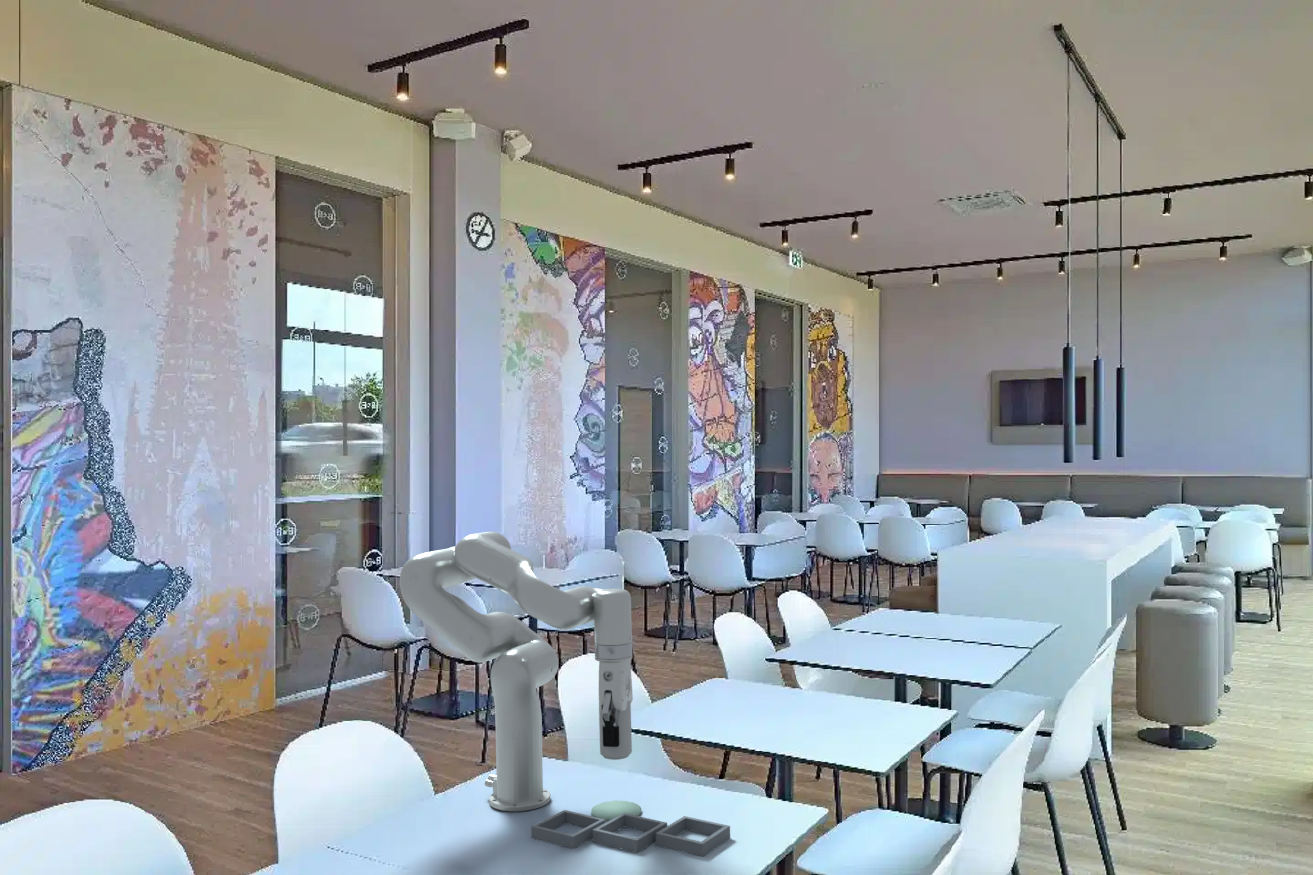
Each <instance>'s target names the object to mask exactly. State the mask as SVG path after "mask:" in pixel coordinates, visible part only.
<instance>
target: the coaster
mask: <svg viewBox="0 0 1313 875" xmlns="http://www.w3.org/2000/svg"><path fill="white" fill-rule="evenodd" d="M623 813H626V814H631V815H635V816H640V815H641V813H642V807H641V805H639V804H638V803H635V802H633V801H629V800H627V801H626V800H611V801H610V800H609V801H605V802H604V801H603V802H601V803H597V804H596V805H593V806H592V808H591V812H590V814H591V816H593V817H598V818H602V819H606V822H608V821H610V820H612V819H613V818H615V817H617V816H619V815H621V814H623Z"/></svg>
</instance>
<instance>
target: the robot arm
mask: <svg viewBox="0 0 1313 875" xmlns="http://www.w3.org/2000/svg"><path fill="white" fill-rule="evenodd" d="M474 579H478V580H479V581H482V582H484V583H485V584H488V585H489V586H491V587H494V588H495V589H497V590H499V591H501V592H503V593H505V594H506V595H508V596H510V597H511V598H512V600H513V601H514V603H515V604H516V605H517V606H518V607H519V608H521V610H523V611H524V612H525V613H526V614H527V615H528V616H531V617H532V618H534V619H536V620H538V621H540V622H542V623H544V624H545V625H548V626H549V627H552V628H555V629H558V630H564V631H565V630H567V631H568V630H572V629H575V628H578V627H579V626H582V625H586V624H588V623H593V629H594V630H593V632H594V660H595V661H597V662H599V664H598V709H599V708H600V710H601V711H602V715H603V717H602V718H603V724H602V725H603V746H604V747H618V746H619V726H617V722H618V710H620V712H623V711H624V710H625V709H626V708H627V702H628V700H630V702H631V703H632V702H633V700H634V699H633V697H634V695H633V683H632V682H633V681H632V668H631V660H632V659H633V636H632V635H633V633H632V631H633V630H632V625H633V623H632V597H631V594H630V592H629V591H628V590H626V589H623V588H604V589H603V588H599V587H598V588H597V587H592V586H585V585H581V586H577V587H574V588H573V587H572V588H570V589H566V590H561V589H559V588H557V587H555V586H553V585H550V584H548V583H547V582H545V581H543V580H542V579H540V578H539V577H538V576H536V574H535V573H534V563H533V561H532V559H530V558H529V557H527V556H524V555H523V554H521V553H518V552H516V551H514V550H513V549H512V546H511V543H510V542H509V540H508V539H507V537H506V536H504V535H503V534H501V533H499V532H496V531H483V532H476V533H471V534H468V535H465V536H464V537H462V538H461V539H460V540H459V541H458V542H457V543H456V545H454V546H451V547H447V548H442V549H436V550H431V551H426V552H422V553H419V554H416V555H415V556H414V555H413V556H411V557H410V558H409V559H408V560H407V561H406V562H405V563H404V564H403V566H402V568H401V570H400V574H399V588H400V593H401V595H402V598H403V601H404V603H405V604H406V606H407V607H408V608H409V610H410V611H411V612H412V613H413V614H414V615H415V616H416V617H418V619H420V620H421V621H422V622H423V623H426V624H427V626H429V627H431V629H432V630H434V631H435V632H436V633H437V634H439V635H440V636H441V637H442V638H443V639H444V640H446V641H447V642H448V643H449V644H450V645H452V646H453V647H454V648H455V649H457V650H458V651H459V652H460V653H461V654H463V655H464V656H465V657H466V658H468V660H471V661H472V662H474V663H486V662H488V661H492V660H494V659H495V661H494V663H492V666H491V670H490V685H491V690H492V696H493V702H494V718H495V720H494V721H495V723H494V725H495V757H496V758H495V761H496V762H495V764H496V767H495V768H496V770H495V771H496V774H493V773H490V774H489V775H488V777H487V779H486V780H485V781H484V786H485V787H488V788H492V792H493V793H492V794H491V795H490V796H489V798H488V799H489V800H488V801H489V806H490V807H492V808H494V809H495V810H499V811H504V812H525V811H531V810H532V811H533V810H536V809H539V808H541V807H544V806H546V805H547V804H548V803H550V802H551V792H550V791H549V790H548V789H546V788H544V785H543V784H544V780H543V779H544V778H543V777H544V776H543V773H544V772H543V770H544V769H543V765H544V764H543V728H542V727H543V726H542V725H543V723H542V721H543V720H542V708H541V704H540V701H539V700H540V699H539V697H538V692H537V689H538V688H539V687H542V686H544V685H545V684H547V683H548V682H550V681H551V680H552V679H554V677H555V676H556V675H557V673H558V669H559V658H558V656H557V653H556V650H555V649H554V648H553V647H552V646H551V644H550V643H549V642H548V641H547V640H545V639H543V638H542V637H541V636H540V635H539V634H538V633H536V631H533V630H532V629H531V628H530V627H528V625H526V624H525V623H523V622H522V620H520V619H519V618H517V617H516V616H514V615H512V614H510V613H507V612H504V611H494V612H493V611H492V612H489V613H486V614H483V613H480V612H478V611H477V610H476V609H474V608H473V607H472V606H471V605H469V604H468V603H467V602H466V601H465V600H463V599H462V598H460V597H458V596H457V595H454V594H453V593H450V592H449V591H447V590H446V588H451V587H455V586H459V585H461V584H464V583H466V582H469V581H471V580H474ZM603 703H604V704H603ZM602 705H603V707H602ZM611 706H614V707H615V710H610V708H611ZM610 714H614V719H613V716H612V715H610Z"/></svg>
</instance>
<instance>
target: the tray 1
mask: <svg viewBox="0 0 1313 875" xmlns="http://www.w3.org/2000/svg"><path fill="white" fill-rule="evenodd" d="M606 822H607V821H606V819H602V818H598V817H593V816H592V815H588V814H584V813H580V812H577V811H576V812H574V811H571V810H567V809H564V810H561V811H559V812H558V813H555V814H554V815H551V816H550V817H547V818H545V819H543V820H541V821H540V822H537V823H535V824H534V825H531V826H530V834H531V836H530V838H531V839H532V838H533V840H536V839H537V841H541V842H545V843H547V844H552V845H555V846H560V847H563V848H568V849H573V850H574V849H576V848H578V847H580V846H581V845H583V844H585V843H587V842H589V841H591V840H593V829H595V828H597V827H599V826H601V825H602V824H604V823H606ZM565 824H566V825H570V826H575V827H580V828H583V829H580V830H579V831H576V832H574V833H573V834H572V833H568V832H563V831H559V830H555V829H557V828H559V827H561V826H563V825H565Z"/></svg>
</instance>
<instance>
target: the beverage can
mask: <svg viewBox="0 0 1313 875" xmlns="http://www.w3.org/2000/svg"><path fill="white" fill-rule="evenodd" d="M603 704H604V703H603ZM631 705H632V702H630V700H628V702H627V708H626V709H625V710H624V711H623V712H620V710H618V722H617V726H619V746H618V747H604V746H603V725H602V724H603V718H602V717H603V715H602V711H601V710H600V708H599V707H598V721H599V722H598V723H599V730H598V731H599V754H600V755H601V756H602V757H603V758H604V759H606V760H614V761H615V760H623V759H627V758H629V756H630V755H631V754H632V752H633V745H632V743H633V740H632V737H633V736H632V709H631V708H632V706H631ZM602 707H603V705H602ZM610 710H615V707H614V706H611V708H610ZM610 715H612V716H613V719H614V714H610Z"/></svg>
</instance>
